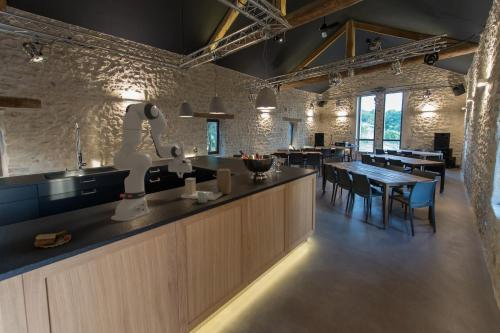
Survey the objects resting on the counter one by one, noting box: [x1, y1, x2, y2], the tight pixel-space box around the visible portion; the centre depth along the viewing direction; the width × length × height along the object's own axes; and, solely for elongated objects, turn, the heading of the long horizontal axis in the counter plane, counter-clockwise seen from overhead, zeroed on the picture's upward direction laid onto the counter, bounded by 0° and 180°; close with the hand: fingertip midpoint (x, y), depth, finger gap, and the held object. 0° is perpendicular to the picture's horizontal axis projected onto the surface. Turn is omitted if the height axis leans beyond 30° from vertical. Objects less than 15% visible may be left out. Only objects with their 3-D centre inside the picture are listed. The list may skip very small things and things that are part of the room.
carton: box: [184, 177, 197, 194], centre depth 200 cm, size 6×6×12 cm
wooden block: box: [216, 168, 232, 195], centre depth 207 cm, size 10×10×20 cm
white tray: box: [180, 190, 223, 201], centre depth 198 cm, size 16×28×2 cm, turn 74°
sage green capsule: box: [197, 190, 208, 204], centre depth 183 cm, size 7×7×7 cm
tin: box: [212, 186, 219, 194], centre depth 200 cm, size 4×4×5 cm
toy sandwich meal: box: [33, 230, 72, 249], centre depth 117 cm, size 12×14×5 cm
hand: (180, 177), depth 201 cm, fingers closed
